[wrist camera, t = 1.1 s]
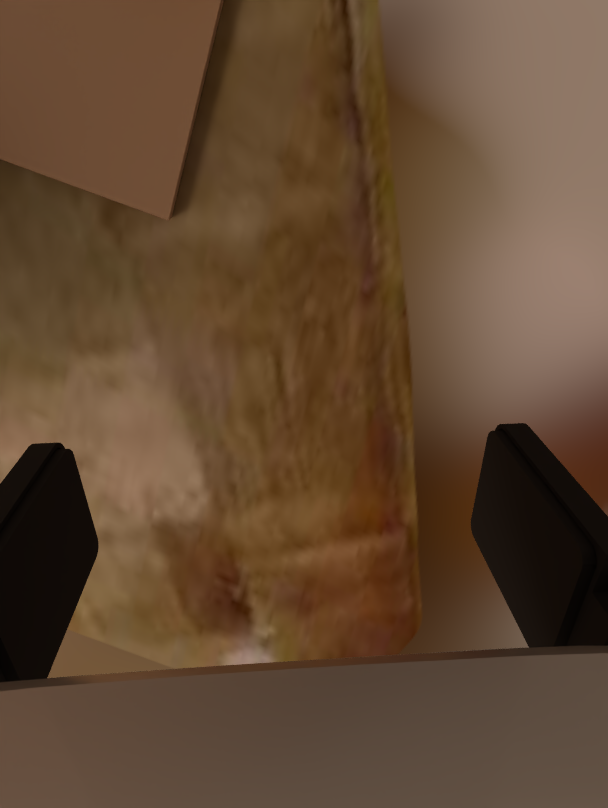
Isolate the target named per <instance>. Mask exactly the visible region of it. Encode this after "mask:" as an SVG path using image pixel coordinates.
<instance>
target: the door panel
mask: <svg viewBox="0 0 608 808" xmlns="http://www.w3.org/2000/svg"><path fill="white" fill-rule="evenodd" d="M223 2H224V0H0V159H1V160H4V161H6V162H9V163H12V164H15V165H17V166H20V167H23V168H26V169H28V170H31V171H34V172H36V173H39V174H42V175H45V176H47V177H50V178H53V179H56V180H58V181H61V182H64V183H67V184H69V185H72V186H75V187H78V188H80V189H83V190H86V191H88V192H91V193H94V194H97V195H99V196H102V197H105V198H108V199H110V200H113V201H116V202H119V203H121V204H124V205H127V206H130V207H132V208H135V209H138V210H140V211H143V212H146V213H149V214H151V215H154V216H157V217H160V218H162V219H165V220H170V219H171V218H172V214H173V210H174V206H175V201H176V197H177V193H178V189H179V185H180V181H181V176H182V172H183V168H184V164H185V160H186V156H187V151H188V147H189V143H190V139H191V135H192V131H193V127H194V122H195V118H196V114H197V110H198V106H199V102H200V97H201V93H202V89H203V85H204V81H205V77H206V73H207V68H208V64H209V60H210V56H211V52H212V48H213V43H214V39H215V35H216V31H217V27H218V23H219V19H220V14H221V10H222V6H223Z"/></svg>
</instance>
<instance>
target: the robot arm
mask: <svg viewBox="0 0 608 808" xmlns="http://www.w3.org/2000/svg"><path fill="white" fill-rule="evenodd" d="M471 530H472V534H473V536H474V538H475V541H476V542H477V545H478V547H479V548H480V551H481V553H482V555H483V557H484V559H485V561H486V562H487V564H488V567H489V569H490V570H491V572H492V574H493V576H494V578H495V580H496V582H497V584H498V586H499V588H500V590H501V592H502V594H503V596H504V598H505V600H506V602H507V604H508V606H509V608H510V610H511V612H512V614H513V616H514V618H515V620H516V622H517V624H518V626H519V628H520V630H521V632H522V634H523V636H524V638H525V640H526V642H527V644H528V646H529V648H510V649H489V650H472V651H455V652H438V653H420V654H404V655H403V654H402V655H385V656H368V657H352V658H336V659H320V660H304V661H288V662H273V663H257V664H242V665H226V666H211V667H197V668H182V669H168V670H153V671H139V672H125V673H110V674H95V675H81V676H70V677H59V678H47V677H48V674H49V672H50V670H51V667H52V664H53V662H54V660H55V657H56V655H57V652H58V650H59V647H60V645H61V643H62V640H63V638H64V635H65V633H66V630H67V628H68V625H69V623H70V621H71V618H72V616H73V613H74V611H75V608H76V606H77V603H78V601H79V598H80V596H81V594H82V591H83V589H84V586H85V584H86V581H87V579H88V576H89V574H90V571H91V569H92V567H93V564H94V562H95V559H96V557H97V553H98V538H97V535H96V531H95V528H94V524H93V521H92V517H91V514H90V510H89V507H88V503H87V500H86V496H85V493H84V489H83V486H82V482H81V479H80V475H79V472H78V468H77V465H76V461H75V458H74V454H73V452H72V451H71V450H70V449H65V448H64V446H63V445H62V444H61V443H40V444H31V445H30V446H29V447H28V448H27V450H26V451H25V452H24V454H23V455H22V456H21V458H20V459H19V460H18V462H17V463H16V464H15V465H14V467H13V468H12V469H11V471H10V472H9V473H8V475H7V476H6V477H5V479H4V480H3V481H2V482H1V484H0V808H608V516H607V515H606V514H605V513H604V512H603V511H602V510H601V508H600V507H599V506H598V505H597V504H596V503H595V501H594V500H593V499H592V498H591V497H590V496H589V495H588V493H587V492H586V491H585V490H584V489H583V488H582V487H581V485H580V484H579V483H578V482H577V481H576V480H575V479H574V477H573V476H572V475H571V474H570V473H569V472H568V471H567V469H566V468H565V467H564V466H563V465H562V464H561V463H560V461H558V459H557V458H556V457H555V456H554V455H553V453H552V452H551V451H550V450H549V449H548V448H547V447H546V445H544V443H543V442H542V441H541V440H540V439H539V437H538V436H537V435H536V434H535V433H534V432H533V431H532V430H531V428H530V427H529V426H528V425H527V424H524V423H518V424H500V425H498V426H497V428H496V429H495V431H491V432H490V433H489V434H488V437H487V442H486V447H485V453H484V457H483V463H482V468H481V473H480V478H479V483H478V488H477V493H476V498H475V503H474V508H473V513H472V518H471Z"/></svg>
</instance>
